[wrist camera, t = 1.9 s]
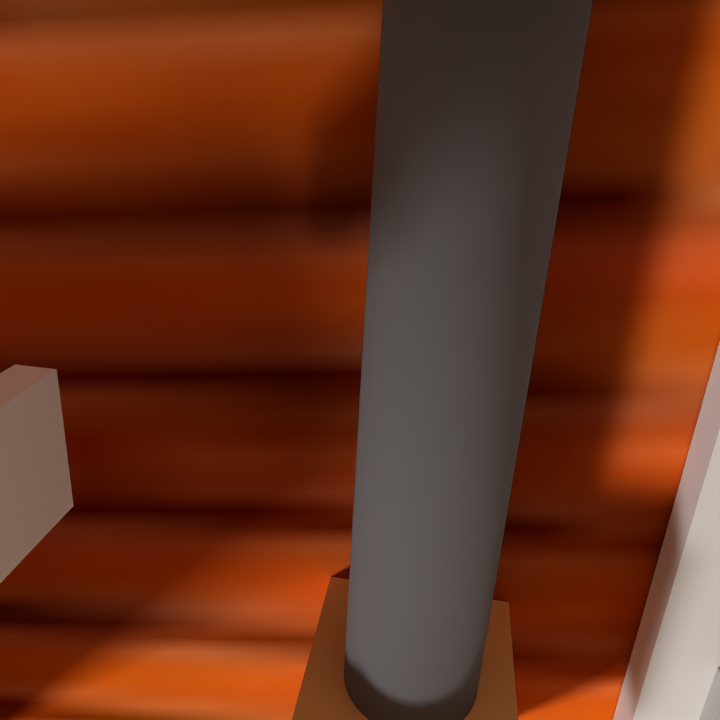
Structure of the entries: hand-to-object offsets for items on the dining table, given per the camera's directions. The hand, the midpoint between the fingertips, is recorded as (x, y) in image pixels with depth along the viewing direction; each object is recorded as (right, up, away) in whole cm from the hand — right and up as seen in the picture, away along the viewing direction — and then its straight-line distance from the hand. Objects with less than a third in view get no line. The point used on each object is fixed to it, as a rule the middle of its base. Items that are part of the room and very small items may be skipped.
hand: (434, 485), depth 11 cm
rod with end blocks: (+1, +2, +5) cm, 6 cm away
